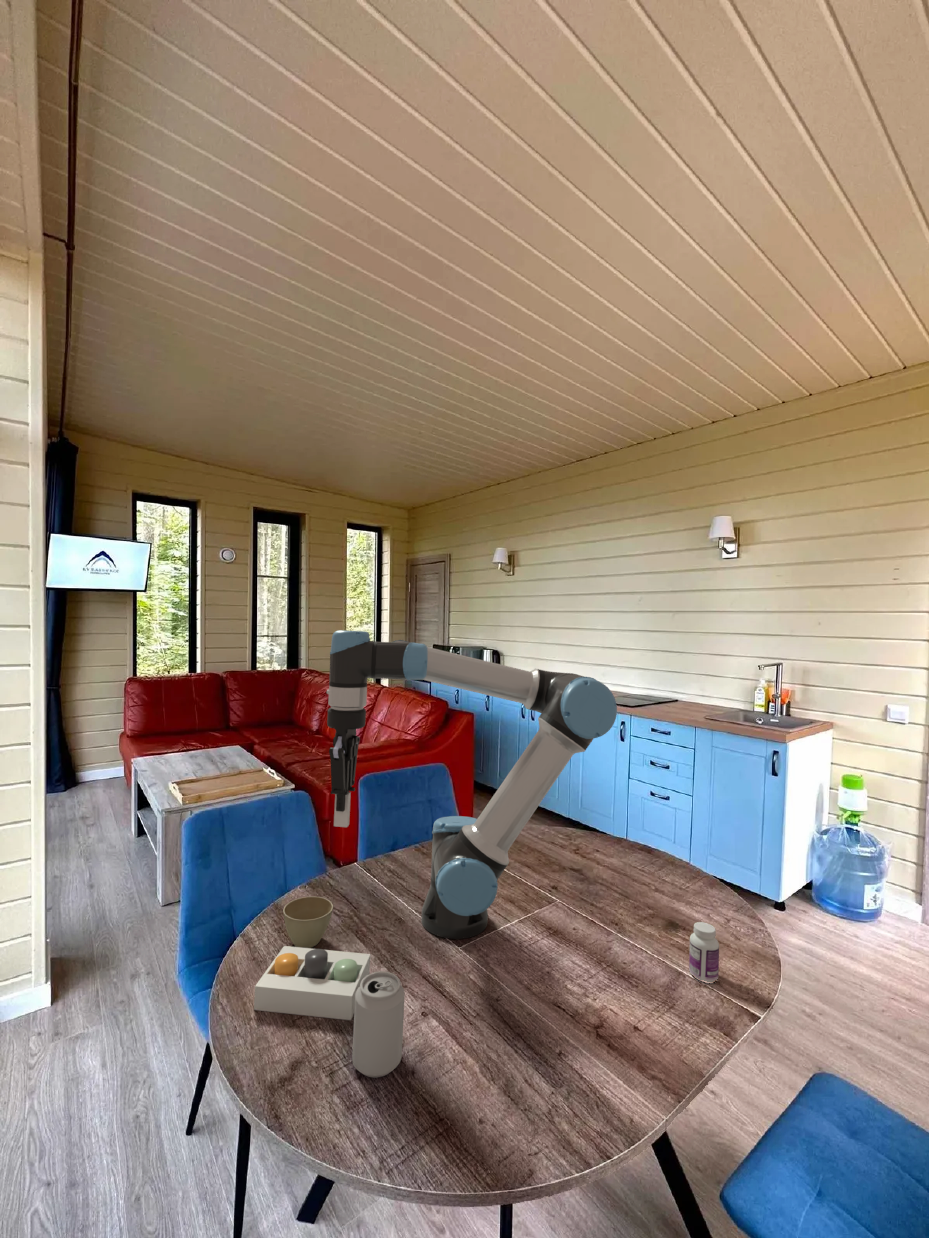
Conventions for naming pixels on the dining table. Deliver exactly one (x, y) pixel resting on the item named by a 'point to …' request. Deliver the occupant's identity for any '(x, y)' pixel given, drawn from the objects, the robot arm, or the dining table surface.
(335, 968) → the green button
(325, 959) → the black button
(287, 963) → the orange rounded piece
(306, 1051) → the dining table surface
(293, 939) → the flower pot
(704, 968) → the pill bottle
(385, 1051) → the can
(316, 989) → the white compartment box
